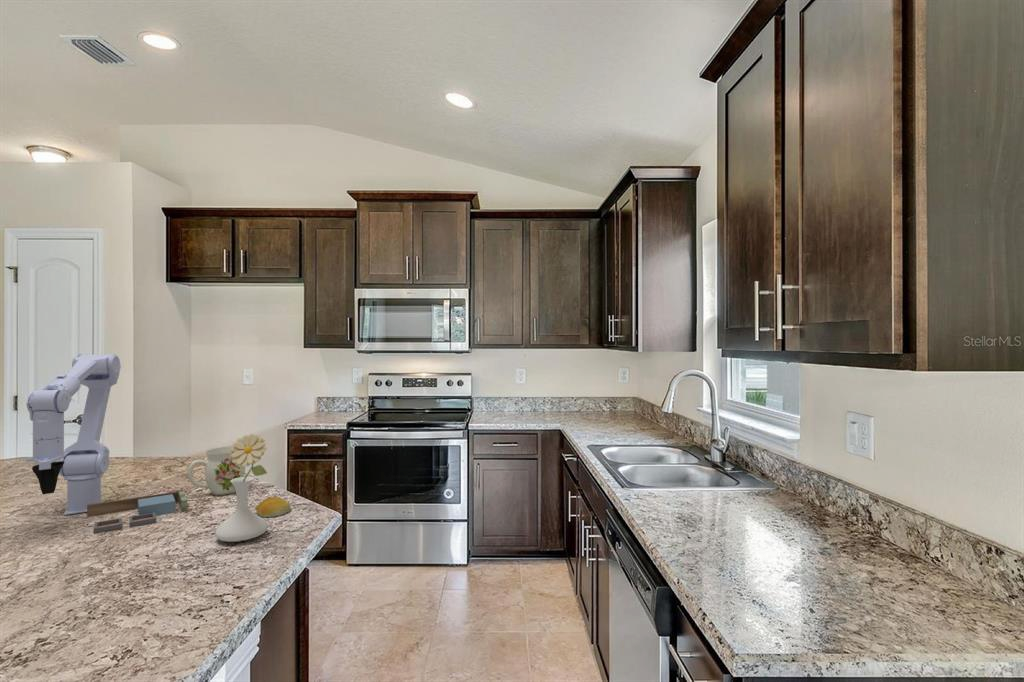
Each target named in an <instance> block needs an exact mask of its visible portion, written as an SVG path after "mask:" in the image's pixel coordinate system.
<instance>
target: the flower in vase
mask: <svg viewBox="0 0 1024 682" xmlns="http://www.w3.org/2000/svg"><path fill="white" fill-rule="evenodd" d="M265 441H266V439H265V438H263V436H260V435H258V434H254V433H250V434H248V435H247V434H244V435H243V437H238V438H237V440H236V441H235V442H234V443H233V444H232V446H233V447H232V448H231V451H230V454H232V455H231V458H233V459H232V462H233V463H234V464H235V463H236V465H240V464H241V466H242V467H245V468H246V467H249V466H251V467H250V469H249V470H248V472H247V473H246V471H245V472H244V471H243V470H240V469H237V468H235V467H234V466H232V467H233V468H234V469H235V470H237V471H240V472H242V473H244V477H240V478H235V479H232V480H231V481H230V482H231V483H232V484H233V485H234V487H235V490H236V492H235V494H236V509H235V511H234V512H233V514H231V516H229V517H228V518H227V519H226V520H225V521H224V522H222V523H221V524H220V525H219V526H218V528H217V529H216V530H215V533H214V537H215V538H217V540H219V541H221V542H222V541H223V542H230V543H231V542H233V543H234V542H242V541H243V542H244V541H248V540H252V539H255V538H257V537H260V536H261V535H263V534H264V533H266V532H267V530H268V528H269V527H270V525H269V523H268V522H267V521H266V520H265V519H264V517H261V516H260V515H259V514H256V513H254V512H252V511H251V510H250V509H249V506H248V503H249V501H248V499H249V498H248V497H249V495H248V494H249V490H250V486H251V484H252V482H253V481H254V479H255V478H254V477H252V476H249V474H250V473H251V472H252V474H253V476H256V477H257V476H262V475H266V474H268V472H267V471H266V469H265V468H264V466H262V465H261V464H257V465H255V466H254V464H256V463H258V462H260V460H262V457H263V456H264V454H265V452H266V451H267V449H268V448H267V443H266V442H265Z"/></svg>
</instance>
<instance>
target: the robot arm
mask: <svg viewBox="0 0 1024 682" xmlns="http://www.w3.org/2000/svg"><path fill="white" fill-rule="evenodd" d="M120 371H121V361H120V357H119V356H118V355H117V354H116V353H111V354H109V353H108V354H105V353H104V354H103V353H102V354H99V353H98V354H82V353H78V354H76V355H75V356H74V357H73V358H72V362H71V368H70V369H69V370H68V371H67V372H66V374H65V373H63V374H62V373H61V374H60V373H59V374H58V375H57V376H56V377H55V378H54V379H53V380H51V381H50V382H49V383H48V384H47V385H46V386H45V387H44V388H42V389H37V390H35V391H34V392H33V391H32V392H31V393H30V394H29V396H28V397H27V400H26V401H27V402H26V409H27V411H28V413H29V419H30V421H32V456H29V457H26V458H25V462H33V463H36V465H33V466H32V468H31V471H32V472H33V473H34V474H35V476H36V478H37V479H38V483H39V487H40V491H41V494H42V495H49V494H54V493H55V491H56V488H57V484H58V479H59V475H60V476H61V477H62V478H64V481H66V485H67V486H66V489H67V491H66V492H67V494H66V495H67V499H66V501H67V502H66V503H67V505H66V507H65V511H64V513H63V515H64V516H68V515H70V516H71V515H74V514H82V513H87V505H89V504H96V503H102V502H104V499H102V476H104V474H105V473H107V471H108V470H109V467H110V450H109V447H107V446H106V445H104V444H103V443H102V442H100V440H101V436H102V430H103V426H104V421H105V416H106V412H107V407H108V402H109V398H110V393H111V389H112V387H113V386H114V385H116V384H118V380H119V378H120V377H119V376H120ZM81 386H85V387H87V388H88V391H87V395H86V401H85V404H84V409H83V414H82V416H81V417H82V419H81V423H80V427H79V432H78V436H77V440H76V441H75V442H74V443H72V444H71V445H69V446H67V447H66V448H65V412H66V411H68V409H69V406H70V403H71V402H72V397H73V396H74V395H75V394H76V393H77V392H78V391H80V389H81Z"/></svg>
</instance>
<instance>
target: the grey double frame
mask: <svg viewBox="0 0 1024 682" xmlns="http://www.w3.org/2000/svg"><path fill="white" fill-rule="evenodd" d="M128 523H129V528H133V527H134V528H135V527H140V526H145V525H151V524H156V523H157V516H156V515H155V512H154V513H148V514H142V515H139V514H137V515H131V516H129V522H128ZM93 524H94V525H93V535H95V534H101V533H105V532H111V531H116V530H122V529H123V517H119V518H115V519H106V520H101V521H96V522H94V523H93Z"/></svg>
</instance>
